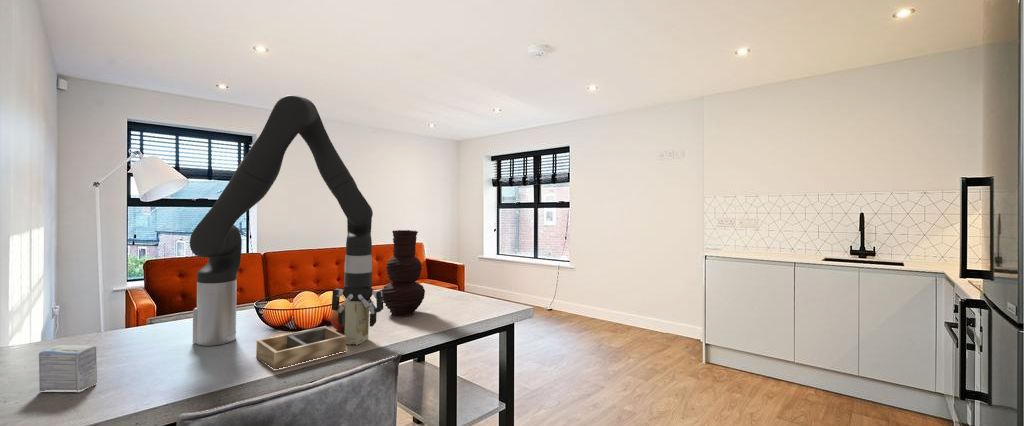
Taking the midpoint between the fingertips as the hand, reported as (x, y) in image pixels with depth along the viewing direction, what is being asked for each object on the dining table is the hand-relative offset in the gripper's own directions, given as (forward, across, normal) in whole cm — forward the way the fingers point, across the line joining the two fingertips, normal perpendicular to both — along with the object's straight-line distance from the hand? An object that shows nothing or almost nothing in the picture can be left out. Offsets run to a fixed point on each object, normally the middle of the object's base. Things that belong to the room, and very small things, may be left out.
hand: (357, 325), depth 126 cm
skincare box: (+5, 0, 0) cm, 5 cm away
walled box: (+5, -10, -12) cm, 16 cm away
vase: (+5, +6, +30) cm, 31 cm away
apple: (+5, -7, +9) cm, 13 cm away
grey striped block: (+5, -48, -35) cm, 60 cm away
